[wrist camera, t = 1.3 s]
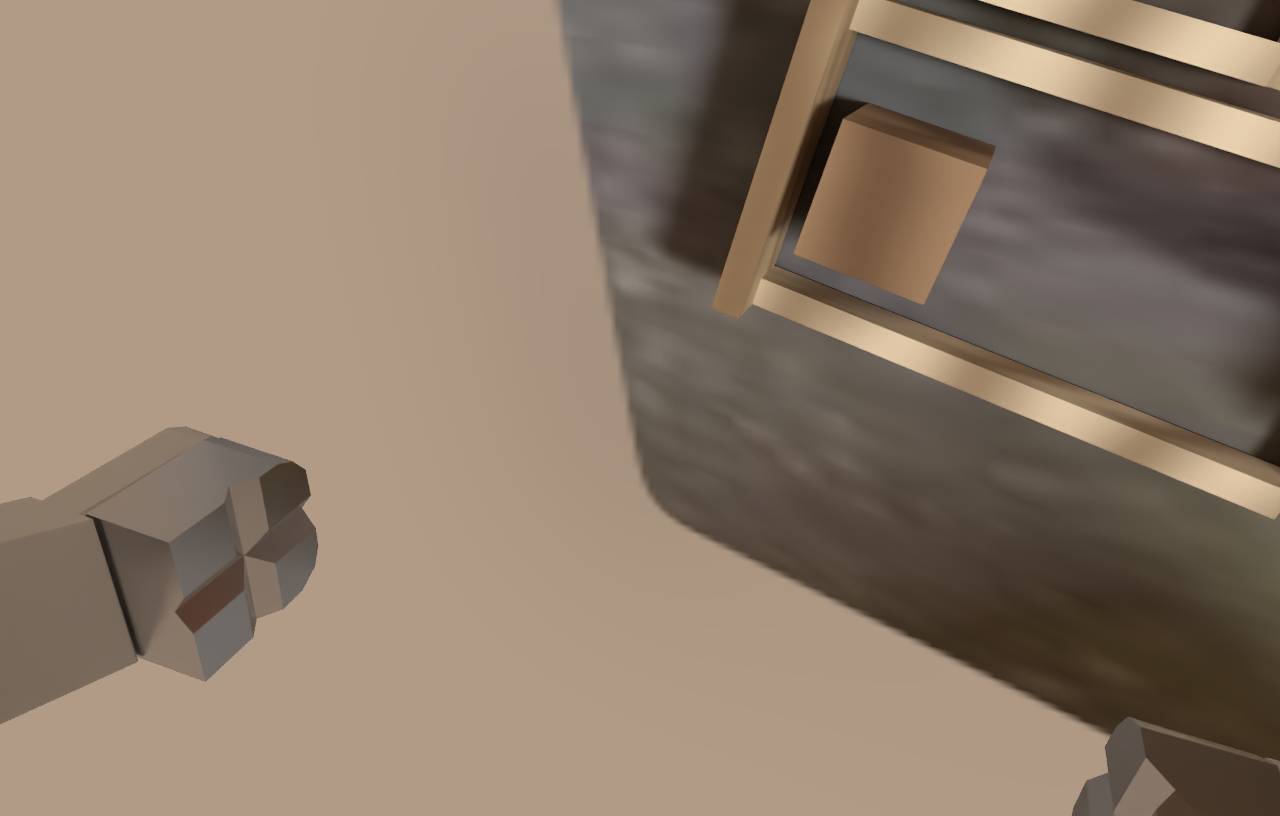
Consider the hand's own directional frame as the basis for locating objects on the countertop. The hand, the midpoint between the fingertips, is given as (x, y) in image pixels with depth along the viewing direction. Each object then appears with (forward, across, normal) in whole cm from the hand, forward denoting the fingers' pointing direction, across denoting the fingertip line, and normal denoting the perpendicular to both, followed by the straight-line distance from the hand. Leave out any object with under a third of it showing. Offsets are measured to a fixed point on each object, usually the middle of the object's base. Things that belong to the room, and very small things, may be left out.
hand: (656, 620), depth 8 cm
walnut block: (+29, +1, -3) cm, 29 cm away
